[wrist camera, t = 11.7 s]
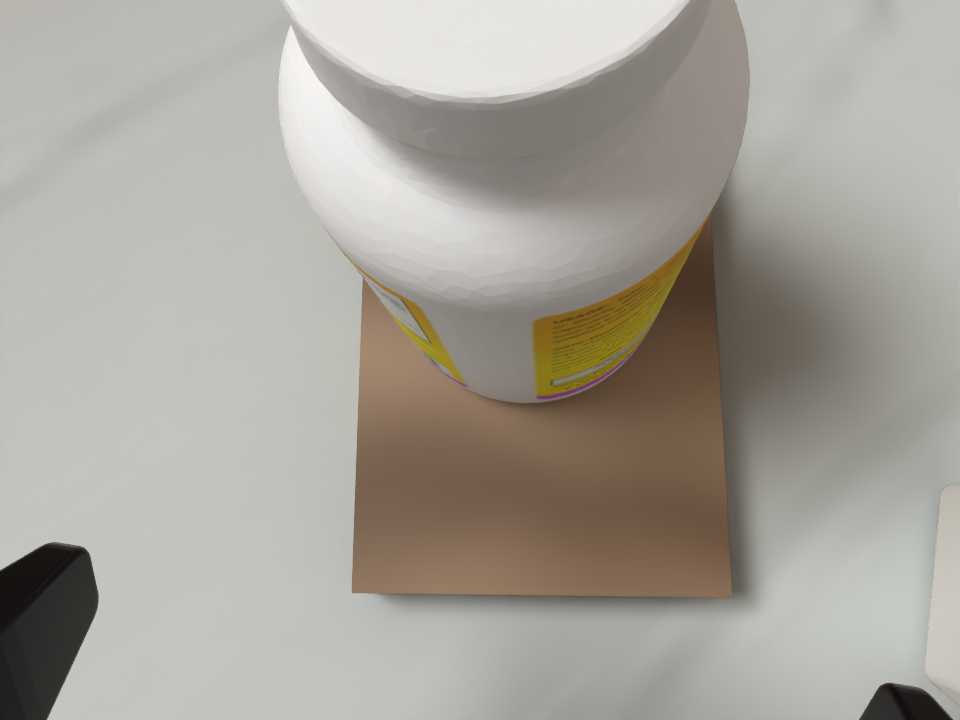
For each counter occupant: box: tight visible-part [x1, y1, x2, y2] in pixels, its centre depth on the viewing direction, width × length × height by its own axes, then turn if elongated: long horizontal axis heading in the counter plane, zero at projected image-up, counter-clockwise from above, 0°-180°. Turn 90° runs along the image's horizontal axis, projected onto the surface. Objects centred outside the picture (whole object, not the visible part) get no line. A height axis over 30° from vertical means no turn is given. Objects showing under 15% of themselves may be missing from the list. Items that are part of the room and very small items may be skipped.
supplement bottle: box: [279, 0, 750, 403], centre depth 14 cm, size 7×7×13 cm
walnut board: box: [352, 213, 732, 598], centre depth 21 cm, size 16×9×2 cm, turn 0°
